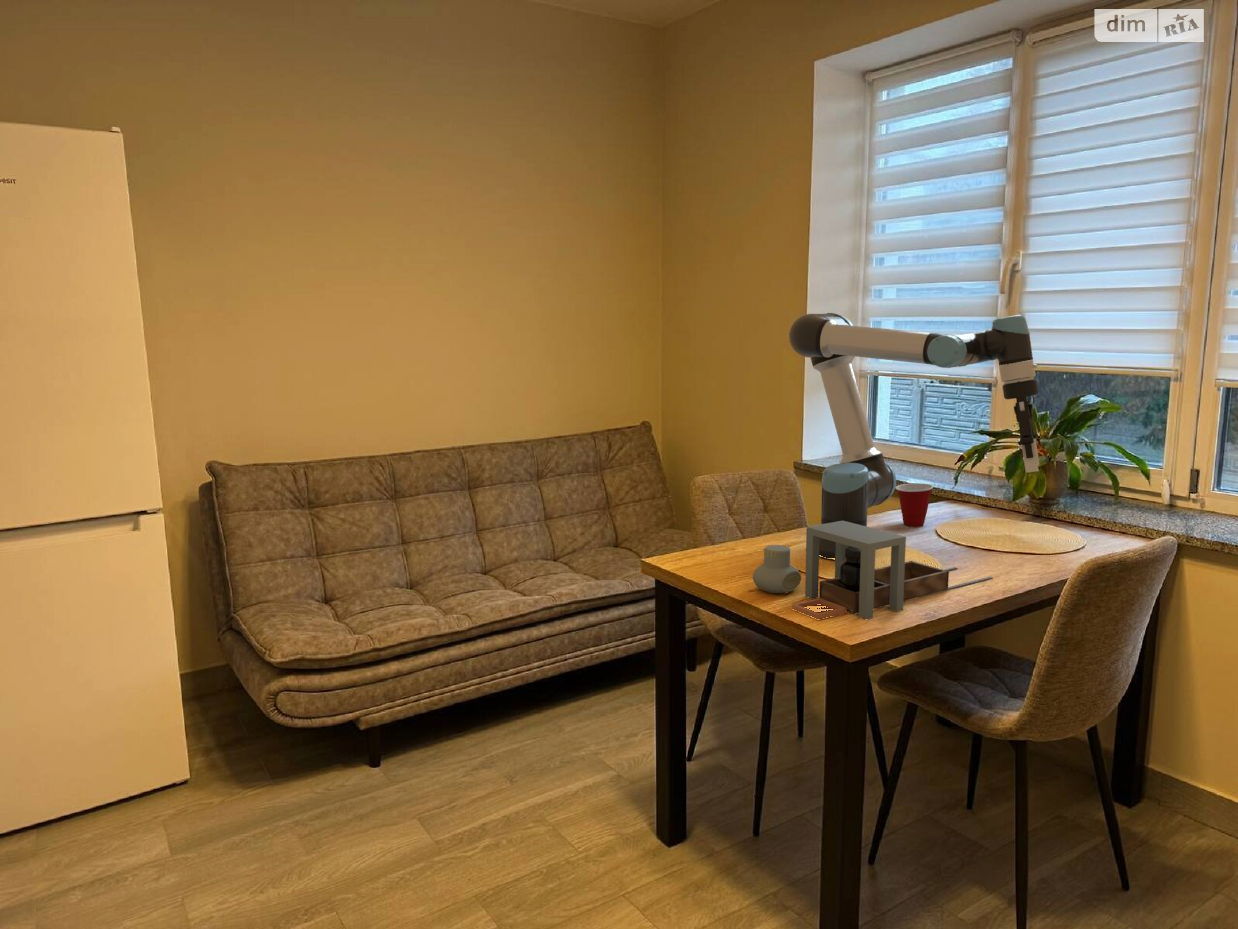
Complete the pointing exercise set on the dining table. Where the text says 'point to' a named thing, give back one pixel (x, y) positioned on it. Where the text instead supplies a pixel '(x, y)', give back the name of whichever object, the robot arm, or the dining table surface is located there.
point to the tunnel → (862, 562)
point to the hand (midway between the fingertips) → (1032, 468)
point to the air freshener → (776, 571)
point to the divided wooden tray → (888, 585)
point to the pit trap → (819, 615)
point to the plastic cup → (914, 502)
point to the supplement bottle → (850, 570)
